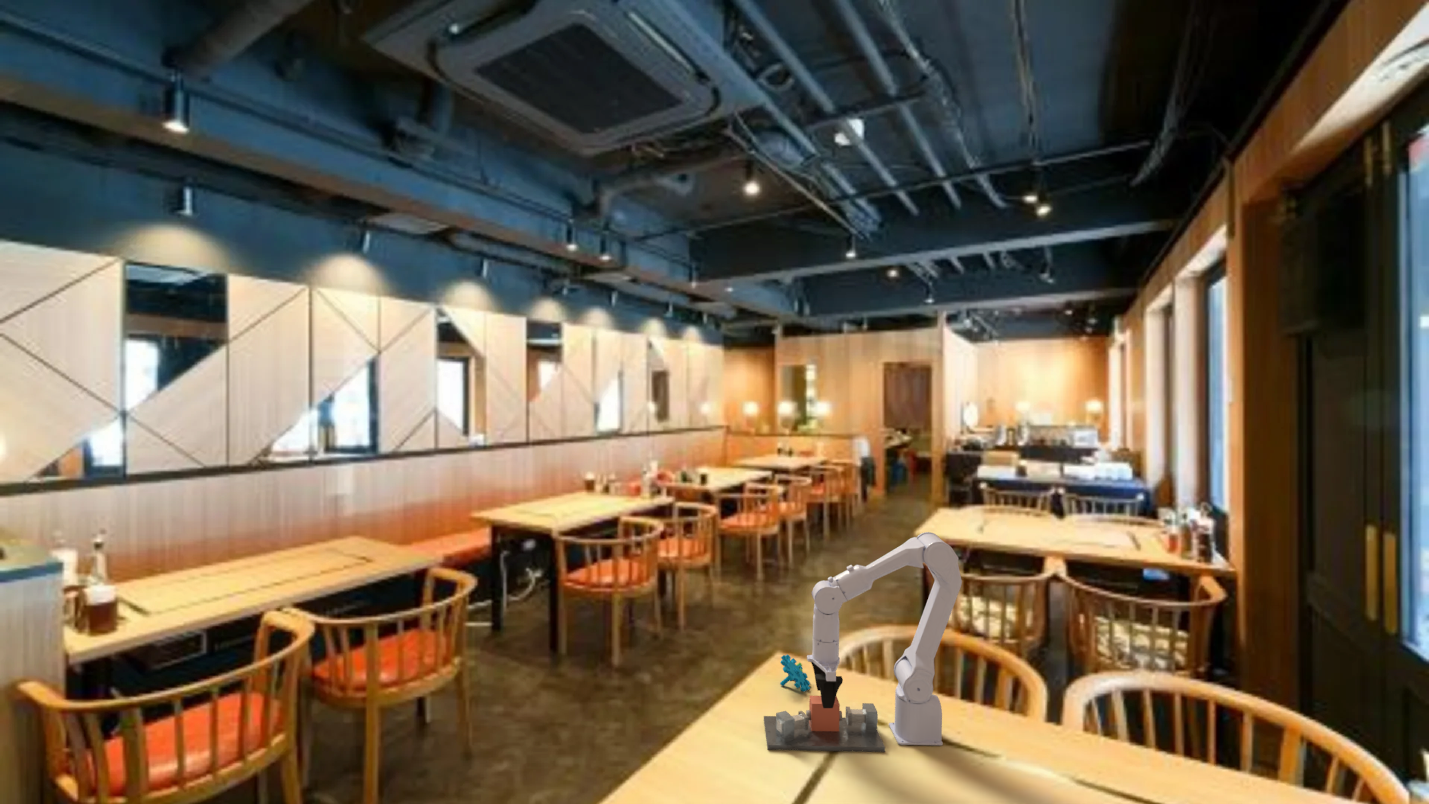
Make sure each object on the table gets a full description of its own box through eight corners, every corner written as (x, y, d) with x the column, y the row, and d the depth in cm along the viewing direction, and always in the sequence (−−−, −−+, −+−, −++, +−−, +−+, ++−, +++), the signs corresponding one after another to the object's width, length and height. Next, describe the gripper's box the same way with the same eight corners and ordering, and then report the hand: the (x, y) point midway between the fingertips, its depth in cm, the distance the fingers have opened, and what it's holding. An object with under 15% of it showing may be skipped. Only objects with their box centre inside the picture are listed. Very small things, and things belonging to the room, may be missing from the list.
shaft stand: (871, 722, 142) (872, 698, 142) (885, 752, 131) (885, 726, 130) (763, 720, 142) (764, 696, 142) (767, 749, 131) (768, 723, 131)
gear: (806, 694, 151) (780, 658, 155) (788, 708, 153) (762, 672, 156) (816, 680, 162) (791, 647, 165) (800, 694, 163) (775, 661, 166)
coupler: (839, 722, 140) (840, 696, 140) (842, 731, 136) (843, 704, 136) (805, 721, 140) (806, 695, 140) (807, 730, 136) (808, 703, 136)
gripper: (803, 624, 145) (802, 682, 145) (812, 651, 130) (811, 715, 131) (833, 625, 145) (832, 682, 145) (846, 651, 130) (845, 716, 131)
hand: (824, 698), depth 138 cm, fingers open, 7 cm apart
